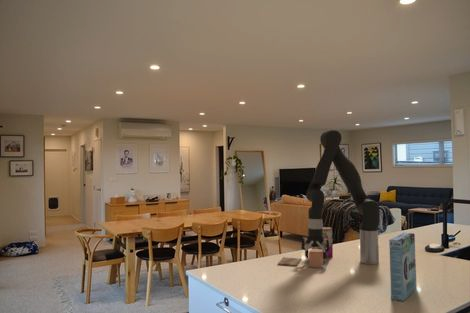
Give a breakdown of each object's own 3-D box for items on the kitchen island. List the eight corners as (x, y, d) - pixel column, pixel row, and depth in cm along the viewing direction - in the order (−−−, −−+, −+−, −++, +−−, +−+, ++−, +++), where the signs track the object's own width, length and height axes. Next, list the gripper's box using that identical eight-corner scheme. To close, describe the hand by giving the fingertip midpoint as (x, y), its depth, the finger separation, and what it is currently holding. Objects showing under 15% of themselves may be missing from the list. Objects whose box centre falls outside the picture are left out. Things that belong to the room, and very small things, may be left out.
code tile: (328, 262, 194) (328, 262, 194) (325, 269, 181) (325, 269, 181) (307, 260, 197) (307, 260, 197) (303, 267, 184) (303, 267, 184)
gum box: (403, 301, 137) (402, 241, 138) (389, 298, 141) (388, 239, 141) (417, 288, 152) (415, 233, 153) (404, 285, 156) (402, 232, 156)
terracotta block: (323, 262, 192) (323, 249, 192) (321, 267, 184) (320, 253, 184) (311, 262, 194) (311, 248, 194) (309, 266, 186) (309, 252, 186)
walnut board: (301, 260, 198) (301, 258, 198) (296, 266, 186) (296, 264, 186) (283, 259, 202) (283, 257, 202) (277, 265, 189) (277, 263, 189)
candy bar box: (312, 257, 204) (312, 228, 204) (311, 255, 209) (311, 227, 209) (333, 258, 202) (332, 228, 203) (331, 255, 207) (331, 227, 208)
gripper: (330, 226, 191) (330, 257, 190) (302, 225, 196) (303, 255, 195) (328, 229, 184) (328, 261, 183) (300, 227, 189) (300, 258, 188)
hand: (315, 258), depth 189 cm, fingers open, 8 cm apart
